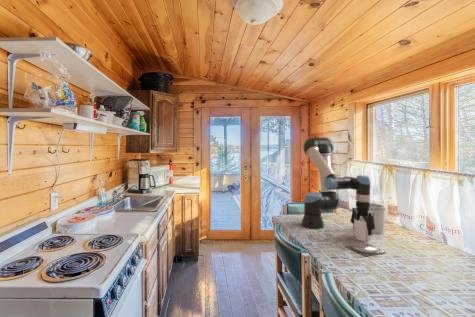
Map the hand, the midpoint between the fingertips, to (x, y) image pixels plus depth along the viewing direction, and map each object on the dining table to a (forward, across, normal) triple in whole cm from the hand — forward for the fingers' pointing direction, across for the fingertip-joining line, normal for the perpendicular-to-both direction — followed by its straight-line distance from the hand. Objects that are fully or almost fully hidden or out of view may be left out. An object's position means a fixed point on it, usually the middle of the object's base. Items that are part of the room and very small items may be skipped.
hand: (361, 237), depth 151 cm
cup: (+1, 0, 0) cm, 1 cm away
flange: (+1, +13, -12) cm, 18 cm away
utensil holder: (+1, -10, +20) cm, 22 cm away
